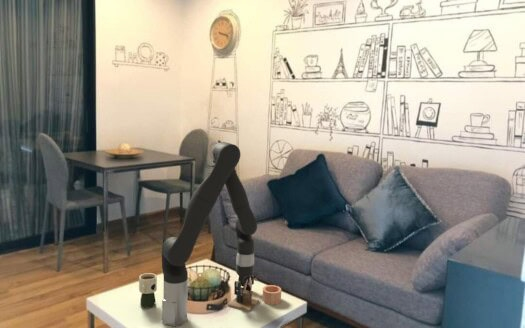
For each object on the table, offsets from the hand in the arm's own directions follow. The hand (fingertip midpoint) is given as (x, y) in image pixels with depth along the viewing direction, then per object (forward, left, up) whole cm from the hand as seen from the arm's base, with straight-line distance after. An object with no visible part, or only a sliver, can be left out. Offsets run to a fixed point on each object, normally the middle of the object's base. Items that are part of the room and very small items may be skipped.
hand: (244, 299), depth 186 cm
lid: (0, 0, -2) cm, 2 cm away
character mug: (-20, +35, -3) cm, 40 cm away
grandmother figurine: (+12, +4, -3) cm, 13 cm away
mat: (0, 0, -3) cm, 3 cm away
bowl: (+9, -9, -3) cm, 13 cm away
